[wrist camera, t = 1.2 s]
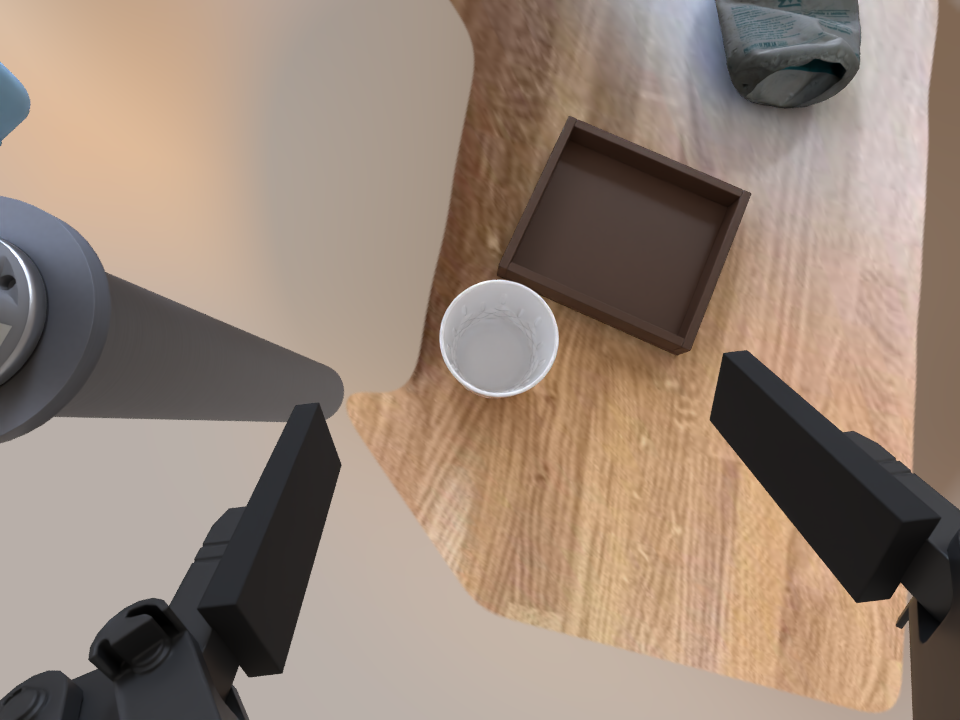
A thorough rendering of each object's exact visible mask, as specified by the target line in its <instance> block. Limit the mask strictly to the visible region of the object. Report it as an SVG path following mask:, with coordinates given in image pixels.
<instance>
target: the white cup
mask: <svg viewBox="0 0 960 720" xmlns="http://www.w3.org/2000/svg"><path fill="white" fill-rule="evenodd" d="M558 344H559V334H558V327H557V323H556V320H555V317H554V315H553V313H552V311H551V309H550V308H549V306H548V305H547V303H546V302H545V301H544V300H543V299H542V298H541V297H540V296H539V295H538V294H537V293H536V292H534V291H533V290H531V289H530V288H528V287H526V286H524V285H522V284H519V283H516V282H512V281H507V280H490V281H485V282H481V283H478V284H476V285H473V286H471V287H469V288H468V289H466V290H465V291H463V292H462V293H461V294H459V295H458V296H457V297H456V298H455V299H454V300H453V302H452V303H451V304H450V306H449V307H448V309H447V311H446V312H445V315H444V317H443V320H442V323H441V328H440V348H441V353H442V356H443V359H444V361H445V363H446V365H447V367H448V369H449V370H450V372H451V373H452V374H453V376H454V377H455V378H456V379H457V381H458V382H459V383H460V384H461V385H462V386H463V387H465V388H466V389H467V390H469V391H470V392H472V393H474V394H476V395H478V396H481V397H485V398H506V397H510V396H513V395H517V394H520V393H523V392H525V391H527V390H529V389H531V388H532V387H534V386H535V385H536V384H538V383H539V382H540V381H541V380H542V379H543V378H544V377H545V376H546V374H547V373H548V372H549V370H550V369H551V367H552V365H553V363H554V361H555V358H556V355H557V351H558Z"/></svg>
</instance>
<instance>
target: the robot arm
mask: <svg viewBox="0 0 960 720" xmlns="http://www.w3.org/2000/svg"><path fill="white" fill-rule="evenodd" d="M29 109H30V99H29V96H28V93H27V91H26V89H25V88H24V86H23V85H22V83H21V82H20V81H19V80H18V79H17V78H16V77H15V76H14V75H13V74H12V73H11V72H10V71H9V70H8V69H7V68H6V67H5V66H4V65H3V64H2V63H1V62H0V146H1V144H2V142H1V141H2V140H3V139H4V138H5V137H6V136H7V135H8V134H9V133H10V132H11V131H12V130H14V129H15V127H17V126H18V125H19V124H20V123H21V122H22V121H23V120H24V119H25V118H26V117H27V116H28V114H29ZM48 313H49V298H48V291H47V287H46V283H45V280H44V278H43V275H42V273H41V271H40V270H39V268H38V266H37V265H36V264H35V262H34V261H33V260H32V259H31V258H30V256H29V255H28V254H26V253H25V252H24V251H23V250H22V249H20V248H19V247H17V246H16V245H14V244H12V243H10V242H8V241H6V240H3V239H1V238H0V387H1V386H3V385H4V384H5V383H7V382H8V381H10V380H11V379H12V378H13V377H14V376H15V375H17V374H18V373H19V372H20V371H21V370H22V369H23V368H24V366H25V365H26V364H27V363H28V361H29V360H30V359H31V357H32V356H33V354H34V353H35V351H36V350H37V348H38V346H39V344H40V342H41V340H42V337H43V335H44V332H45V329H46V325H47V321H48ZM710 421H711V422H712V424H713V425H714V426H715V427H716V429H717V430H718V431H719V432H720V434H721V435H722V436H723V437H724V439H725V440H726V441H727V442H728V443H729V445H730V446H731V447H732V448H733V450H734V451H735V452H736V453H737V455H738V456H739V457H740V458H741V460H742V461H743V462H744V463H745V465H746V466H747V467H748V468H749V470H750V471H751V472H752V473H753V475H754V476H755V477H756V478H757V480H758V481H759V482H760V483H761V485H762V486H763V487H764V488H765V490H766V491H767V492H768V493H769V495H770V496H771V497H772V498H773V500H774V501H775V502H776V503H777V505H778V506H779V507H780V508H781V510H782V511H783V512H784V513H785V515H786V516H787V517H788V518H789V519H790V521H791V522H792V523H793V524H794V526H795V527H796V528H797V529H798V531H799V532H800V533H801V534H802V536H803V537H804V538H805V539H806V541H807V542H808V543H809V544H810V546H811V547H812V548H813V549H814V551H815V552H816V553H817V554H818V556H819V557H820V558H821V559H822V561H823V562H824V563H825V564H826V566H827V567H828V568H829V569H830V571H831V572H832V573H833V574H834V576H835V577H836V578H837V579H838V581H839V582H840V583H841V584H842V586H843V587H844V588H845V589H846V591H847V592H848V593H849V594H850V595H851V597H852V598H853V599H854V600H855V602H856V603H861V602H869V601H877V600H885V599H890V598H891V597H892V595H893V593H894V592H895V590H896V589H897V587H898V586H899V584H900V582H901V583H902V584H903V585H904V587H905V588H906V589H907V590H908V591H909V592H910V593H911V594H912V595H913V597H912V599H911V600H910V602H909V603H908V605H907V606H906V607H905V609H904V610H903V612H902V613H901V615H900V616H899V618H898V620H897V623H896V627H899V628H901V629H902V628H903V627H904V625H905V624H906V622H907V621H908V620H909V631H910V658H911V680H912V681H911V683H912V707H913V708H912V709H913V720H960V510H959V509H958V508H956V507H955V506H954V505H953V504H951V503H950V502H949V501H948V500H947V499H945V498H944V497H943V496H942V495H940V494H939V493H938V492H937V491H935V490H934V489H933V488H932V487H931V486H929V485H928V484H927V483H926V482H925V481H923V480H922V479H921V478H920V477H918V476H917V475H916V474H915V473H914V474H912V473H911V470H910V469H909V468H907V467H906V466H905V465H904V464H902V463H901V462H900V461H896V458H895V457H894V456H893V455H891V454H890V453H889V452H888V451H886V450H885V449H884V448H883V447H882V446H880V445H879V444H878V443H876V442H874V441H872V440H870V439H868V438H866V437H864V436H862V435H860V434H859V433H857V432H855V431H850V432H842V431H841V430H839V429H838V428H837V427H836V426H835V425H834V424H832V423H831V422H830V421H829V420H828V419H827V418H825V417H824V416H823V415H822V414H821V413H820V412H818V411H817V410H816V409H815V408H814V407H813V406H811V405H810V404H809V403H808V402H807V401H806V400H804V399H803V398H802V397H801V396H800V395H799V394H797V393H796V392H795V391H794V390H793V389H792V388H790V387H789V386H788V385H787V384H786V383H785V382H783V381H782V380H781V379H780V378H779V377H778V376H776V375H775V374H774V373H773V372H772V371H771V370H769V369H768V368H767V367H766V366H765V365H764V364H762V363H761V362H760V361H759V360H758V359H757V358H755V357H754V356H753V355H752V354H751V353H750V352H748V351H747V350H744V351H736V352H728V353H723V357H722V362H721V367H720V372H719V377H718V381H717V386H716V391H715V396H714V401H713V406H712V411H711V416H710ZM340 468H341V462H340V459H339V457H338V454H337V451H336V448H335V446H334V443H333V440H332V437H331V435H330V432H329V429H328V426H327V423H326V421H325V418H324V415H323V412H322V410H321V407H320V404H319V403H311V404H303V405H295V407H294V409H293V411H292V413H291V415H290V417H289V420H288V422H287V424H286V426H285V428H284V430H283V432H282V434H281V436H280V438H279V440H278V442H277V445H276V446H275V448H274V450H273V452H272V455H271V457H270V459H269V461H268V463H267V465H266V467H265V469H264V471H263V473H262V475H261V477H260V479H259V481H258V483H257V485H256V487H255V490H254V492H253V494H252V496H251V498H250V500H249V502H248V504H247V506H246V507H238V508H230V509H228V510H227V511H226V512H225V513H224V514H223V515H222V516H221V517H220V518H219V519H218V521H216V522H215V524H214V525H213V526H212V527H211V530H210V531H209V533H208V535H207V537H206V539H205V541H204V542H203V547H202V548H200V550H199V551H198V553H197V555H196V557H195V559H194V560H195V562H194V563H192V564H191V566H190V568H189V570H188V572H187V574H186V575H185V577H184V579H183V581H182V583H181V585H180V587H179V589H178V590H177V592H176V594H175V596H174V598H173V600H172V601H171V603H170V605H169V606H168V605H167V604H166V603H165V601H164V600H161V599H156V598H151V599H146V600H142V601H138V602H136V603H134V604H132V605H130V606H128V607H126V608H124V609H123V610H122V611H120V612H119V613H118V614H117V615H115V616H114V617H113V618H111V619H110V620H109V621H108V622H107V623H106V625H105V626H104V627H103V628H102V629H101V630H100V631H99V632H98V634H97V636H96V637H95V639H94V641H93V643H92V645H91V647H90V652H89V659H88V660H89V661H90V662H91V663H93V664H94V665H95V666H96V667H97V668H98V669H96V670H94V671H92V672H89V673H87V674H85V675H82V676H80V677H77V678H75V679H73V680H71V679H69V678H68V677H67V676H66V675H65V674H64V673H62V672H61V671H46V672H43V673H40V674H38V675H35V676H33V677H31V678H29V679H28V680H26V681H24V682H23V683H21V684H19V685H18V686H16V687H15V688H14V689H13V690H12V691H10V692H9V693H8V694H7V695H6V696H5V697H4V698H2V699H1V700H0V720H249V718H248V715H247V713H246V711H245V708H244V706H243V704H242V701H241V699H240V696H239V694H238V692H237V689H236V688H235V687H234V686H233V685H232V683H233V681H234V678H235V675H236V672H237V669H238V667H239V665H240V667H241V668H242V669H243V671H244V672H245V673H246V674H247V676H248V677H257V676H264V675H273V674H281V673H283V669H284V666H285V662H286V659H287V655H288V652H289V648H290V644H291V641H292V638H293V634H294V630H295V627H296V623H297V620H298V616H299V613H300V609H301V606H302V602H303V599H304V595H305V592H306V588H307V585H308V581H309V578H310V574H311V570H312V567H313V564H314V560H315V556H316V553H317V549H318V546H319V542H320V539H321V535H322V532H323V528H324V525H325V521H326V517H327V514H328V510H329V507H330V503H331V500H332V497H333V493H334V490H335V486H336V482H337V479H338V475H339V472H340Z"/></svg>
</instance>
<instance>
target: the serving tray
mask: <svg viewBox="0 0 960 720" xmlns="http://www.w3.org/2000/svg"><path fill="white" fill-rule="evenodd" d="M750 196H751V193H750V192H747V191H745V190H742V189H740V188H738V187H735V186H733V185H731V184H728V183H726V182H724V181H721V180H719V179H717V178H714V177H712V176H710V175H707V174H705V173H703V172H700V171H698V170H696V169H693V168H691V167H688V166H686V165H684V164H681V163H679V162H677V161H674V160H672V159H670V158H667V157H665V156H663V155H660V154H658V153H656V152H653V151H651V150H649V149H646V148H644V147H641V146H639V145H637V144H634V143H632V142H630V141H627V140H625V139H623V138H620V137H618V136H616V135H613V134H611V133H609V132H606V131H604V130H602V129H599V128H597V127H595V126H592V125H590V124H587V123H585V122H583V121H580V120H577V119H576V118H573V117H571V116H569V117H568V119H567V121H566V124H565V126H564V128H563V130H562V132H561V134H560V136H559V138H558V140H557V143H556V145H555V147H554V149H553V151H552V153H551V155H550V157H549V160H548V162H547V164H546V166H545V168H544V170H543V172H542V174H541V177H540V179H539V181H538V183H537V185H536V187H535V189H534V191H533V194H532V196H531V198H530V200H529V202H528V204H527V206H526V208H525V211H524V213H523V215H522V217H521V219H520V221H519V223H518V225H517V228H516V230H515V232H514V234H513V236H512V238H511V240H510V242H509V245H508V247H507V249H506V251H505V253H504V255H503V257H502V259H501V262H500V264H499V267H498V272H497V276H500V277H502V278H504V279H506V280H508V281H512V282H516V283H519V284H522V285H524V286H526V287H528V288H530V289H531V290H533V291H534V292H536V293H538V294H540V295H542V296H544V297H547V298H549V299H551V300H553V301H556V302H558V303H560V304H562V305H565V306H567V307H569V308H571V309H574V310H576V311H578V312H580V313H583V314H585V315H587V316H589V317H592V318H594V319H596V320H598V321H601V322H603V323H605V324H607V325H610V326H612V327H614V328H616V329H619V330H621V331H623V332H625V333H628V334H630V335H632V336H634V337H637V338H639V339H641V340H643V341H646V342H648V343H650V344H652V345H655V346H657V347H659V348H661V349H663V350H666V351H668V352H670V353H672V354H675V355H679V354H682V353H685V352H688V351H690V350H691V348H692V345H693V342H694V340H695V337H696V335H697V332H698V330H699V327H700V324H701V322H702V319H703V317H704V314H705V312H706V309H707V306H708V304H709V301H710V299H711V296H712V294H713V291H714V288H715V286H716V283H717V281H718V278H719V276H720V273H721V270H722V268H723V265H724V263H725V260H726V258H727V255H728V252H729V250H730V247H731V245H732V242H733V240H734V237H735V234H736V232H737V229H738V227H739V224H740V222H741V219H742V216H743V214H744V211H745V209H746V206H747V204H748V201H749V198H750Z"/></svg>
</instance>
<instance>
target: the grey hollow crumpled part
mask: <svg viewBox="0 0 960 720" xmlns="http://www.w3.org/2000/svg"><path fill="white" fill-rule="evenodd" d="M715 1H716V7H717V12H718V17H719V23H720V27H721V32H722V37H723V42H724V48H725V53H726V60H727V69H728V71H729V75H730V78H731V81H732V83H733V85H734V87H735V88H736V90H737V92H738V93H739V94H740V95H741V96H742V97H744V98H745V99H747V100H749V101H751V102H754V103H758V104H765V105H770V106H776V107H780V108H795V107H806V106H809V105H812V104H815V103H819V102H822V101H824V100H827V99H829V98H830V97H832V96H834V95H836V94H837V93H838V92H840V91H841V90H842V89H843V88H845V87H846V86H847V84H848V83H849V82H850V81H851V80H852V79H853V77H854V76H855V75H856V73H857V71H858V70H859V65H860V54H861V53H860V44H861V26H860V22H859V21H860V20H859V6H858V0H715Z"/></svg>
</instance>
